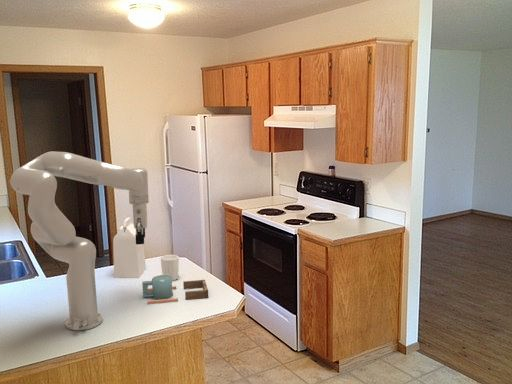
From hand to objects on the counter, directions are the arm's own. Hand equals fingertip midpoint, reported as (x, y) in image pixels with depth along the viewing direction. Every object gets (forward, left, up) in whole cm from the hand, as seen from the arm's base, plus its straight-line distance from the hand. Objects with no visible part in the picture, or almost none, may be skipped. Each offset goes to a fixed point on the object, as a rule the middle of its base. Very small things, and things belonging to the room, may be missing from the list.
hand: (140, 240), depth 188 cm
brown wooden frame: (-3, -21, -23) cm, 32 cm away
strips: (-3, -8, -23) cm, 24 cm away
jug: (-3, -6, -23) cm, 24 cm away
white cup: (+16, -12, -23) cm, 30 cm away
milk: (+27, +6, -23) cm, 36 cm away
